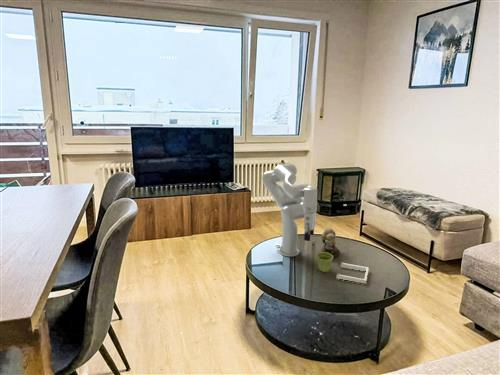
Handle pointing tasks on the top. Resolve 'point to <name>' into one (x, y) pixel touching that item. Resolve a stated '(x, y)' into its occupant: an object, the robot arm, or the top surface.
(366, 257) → the top surface
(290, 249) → the robot arm
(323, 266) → the plant pot
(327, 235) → the seated figurine
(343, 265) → the white u-shaped block
